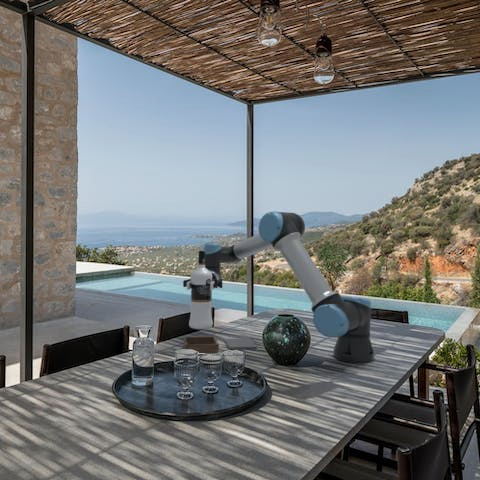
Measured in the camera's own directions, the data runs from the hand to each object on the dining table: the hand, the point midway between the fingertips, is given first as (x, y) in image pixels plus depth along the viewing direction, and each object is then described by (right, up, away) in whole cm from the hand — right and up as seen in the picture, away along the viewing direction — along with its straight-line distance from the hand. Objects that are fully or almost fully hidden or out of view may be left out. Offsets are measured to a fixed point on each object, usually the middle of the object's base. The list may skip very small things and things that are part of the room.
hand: (199, 286), depth 176 cm
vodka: (0, -17, +5) cm, 17 cm away
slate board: (+16, -26, +15) cm, 34 cm away
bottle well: (0, -26, +5) cm, 26 cm away
